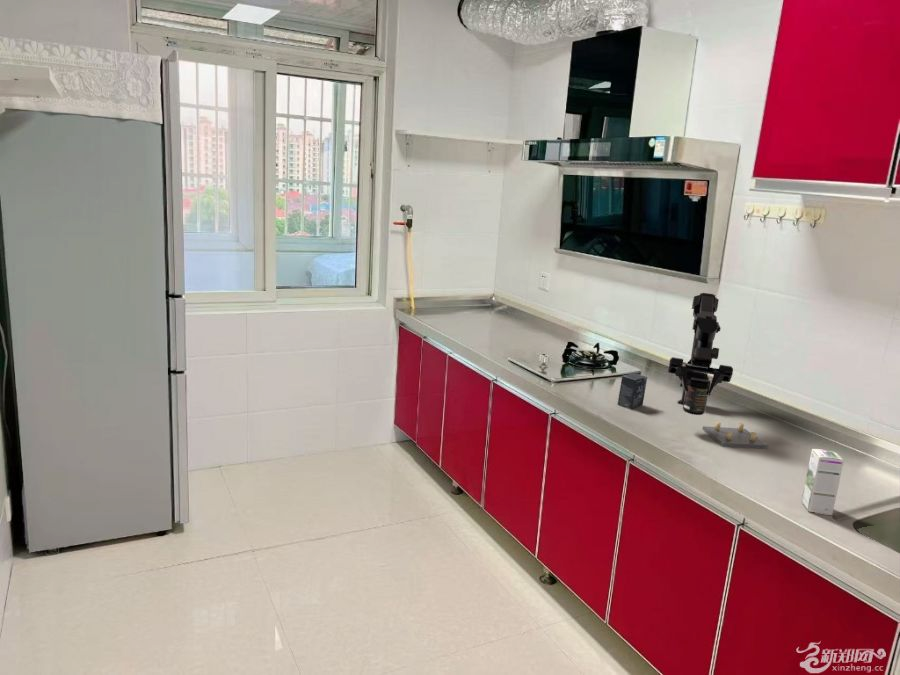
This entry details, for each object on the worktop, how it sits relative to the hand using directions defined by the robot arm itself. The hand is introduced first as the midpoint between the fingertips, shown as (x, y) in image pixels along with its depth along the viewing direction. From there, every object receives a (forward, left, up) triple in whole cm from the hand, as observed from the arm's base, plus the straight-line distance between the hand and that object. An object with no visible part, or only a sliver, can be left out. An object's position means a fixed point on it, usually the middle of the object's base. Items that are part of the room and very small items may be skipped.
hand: (697, 392), depth 213 cm
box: (-11, -24, -13) cm, 30 cm away
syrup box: (+30, +41, -13) cm, 52 cm away
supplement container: (-1, 0, -7) cm, 7 cm away
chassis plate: (-6, +12, -13) cm, 19 cm away
